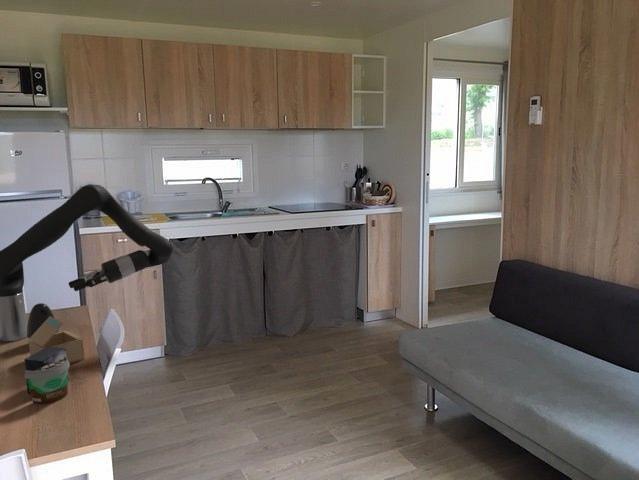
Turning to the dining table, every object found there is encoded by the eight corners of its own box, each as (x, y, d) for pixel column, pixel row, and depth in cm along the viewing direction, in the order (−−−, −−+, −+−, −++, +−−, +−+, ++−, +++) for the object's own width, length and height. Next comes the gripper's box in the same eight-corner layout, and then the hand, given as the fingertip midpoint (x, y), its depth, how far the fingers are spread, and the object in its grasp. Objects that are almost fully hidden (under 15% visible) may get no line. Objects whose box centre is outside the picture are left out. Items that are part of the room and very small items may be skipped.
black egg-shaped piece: (33, 351, 187) (28, 309, 184) (25, 343, 194) (20, 303, 192) (63, 343, 193) (59, 303, 191) (54, 336, 201) (50, 298, 198)
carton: (30, 359, 179) (27, 339, 178) (68, 348, 188) (66, 329, 187) (47, 370, 169) (44, 350, 167) (86, 359, 178) (84, 339, 176)
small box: (46, 395, 152) (42, 360, 150) (26, 393, 153) (22, 359, 151) (70, 379, 162) (66, 346, 160) (51, 378, 163) (48, 345, 161)
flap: (28, 338, 176) (49, 315, 180) (30, 339, 176) (50, 316, 181) (41, 346, 169) (62, 322, 173) (42, 347, 169) (63, 323, 173)
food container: (40, 410, 142) (36, 375, 141) (27, 405, 146) (23, 370, 144) (81, 392, 153) (78, 359, 151) (69, 387, 156) (65, 355, 154)
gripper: (109, 257, 191) (63, 274, 183) (119, 260, 180) (70, 279, 171) (117, 276, 193) (71, 294, 185) (127, 280, 181) (79, 300, 173)
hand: (71, 287), depth 178 cm, fingers open, 8 cm apart
